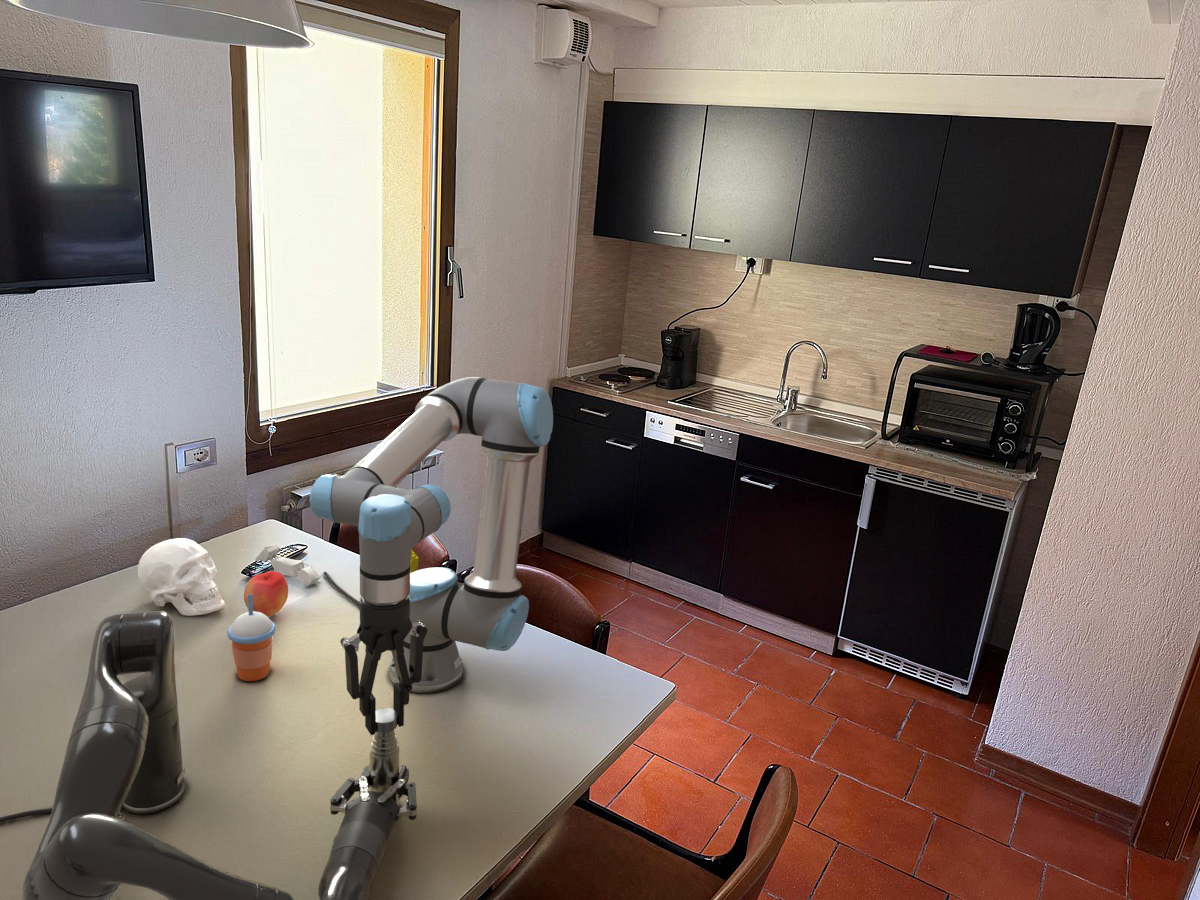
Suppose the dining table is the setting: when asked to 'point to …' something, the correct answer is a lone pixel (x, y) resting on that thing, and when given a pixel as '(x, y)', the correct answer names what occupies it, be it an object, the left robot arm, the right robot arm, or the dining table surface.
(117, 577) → the dining table surface
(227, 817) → the dining table surface
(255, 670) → the cup with straw
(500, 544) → the right robot arm
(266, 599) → the apple
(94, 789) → the left robot arm
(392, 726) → the cap
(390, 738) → the bottle
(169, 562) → the skull
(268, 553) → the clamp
